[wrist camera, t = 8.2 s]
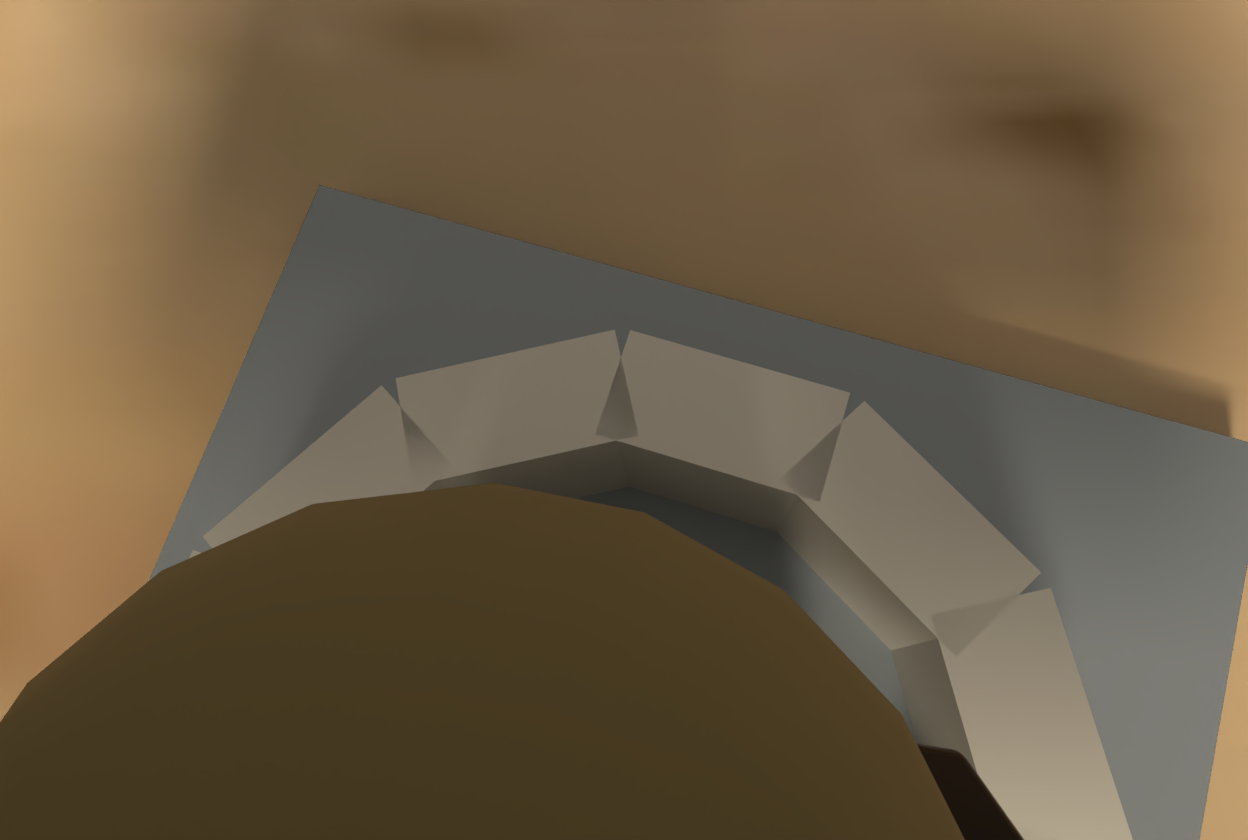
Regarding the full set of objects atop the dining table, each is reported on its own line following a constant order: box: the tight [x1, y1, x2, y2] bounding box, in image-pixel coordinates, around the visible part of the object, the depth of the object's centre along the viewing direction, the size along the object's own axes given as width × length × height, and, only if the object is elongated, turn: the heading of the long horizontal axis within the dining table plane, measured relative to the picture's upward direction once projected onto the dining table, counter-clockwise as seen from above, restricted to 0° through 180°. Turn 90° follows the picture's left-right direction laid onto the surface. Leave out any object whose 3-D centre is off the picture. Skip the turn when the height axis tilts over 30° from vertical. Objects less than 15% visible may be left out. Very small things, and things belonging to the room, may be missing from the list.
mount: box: [149, 185, 1248, 840], centre depth 14 cm, size 16×16×4 cm
